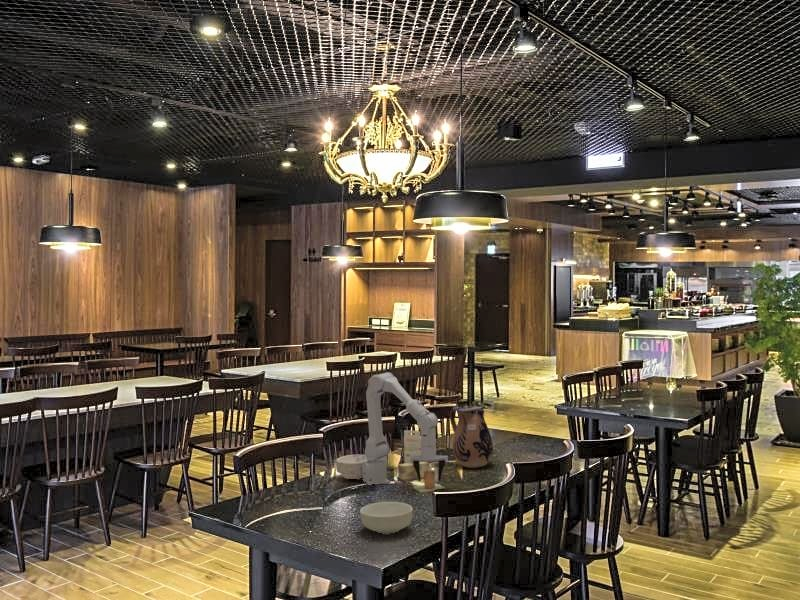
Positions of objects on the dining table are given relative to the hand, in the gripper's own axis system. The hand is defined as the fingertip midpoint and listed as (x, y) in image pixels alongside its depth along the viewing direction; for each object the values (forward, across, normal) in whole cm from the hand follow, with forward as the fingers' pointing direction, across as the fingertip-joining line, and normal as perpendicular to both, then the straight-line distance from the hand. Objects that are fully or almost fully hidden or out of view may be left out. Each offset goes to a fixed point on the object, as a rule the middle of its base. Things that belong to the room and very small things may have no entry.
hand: (429, 480), depth 276 cm
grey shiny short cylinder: (+3, -2, -9) cm, 10 cm away
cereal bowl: (+4, +14, +46) cm, 49 cm away
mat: (+3, 0, 0) cm, 3 cm away
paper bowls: (+4, +31, -20) cm, 37 cm away
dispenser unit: (+3, +6, -16) cm, 18 cm away
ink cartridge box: (+4, +6, -43) cm, 43 cm away
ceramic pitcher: (+4, -18, -36) cm, 40 cm away
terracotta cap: (+3, 0, 0) cm, 3 cm away
